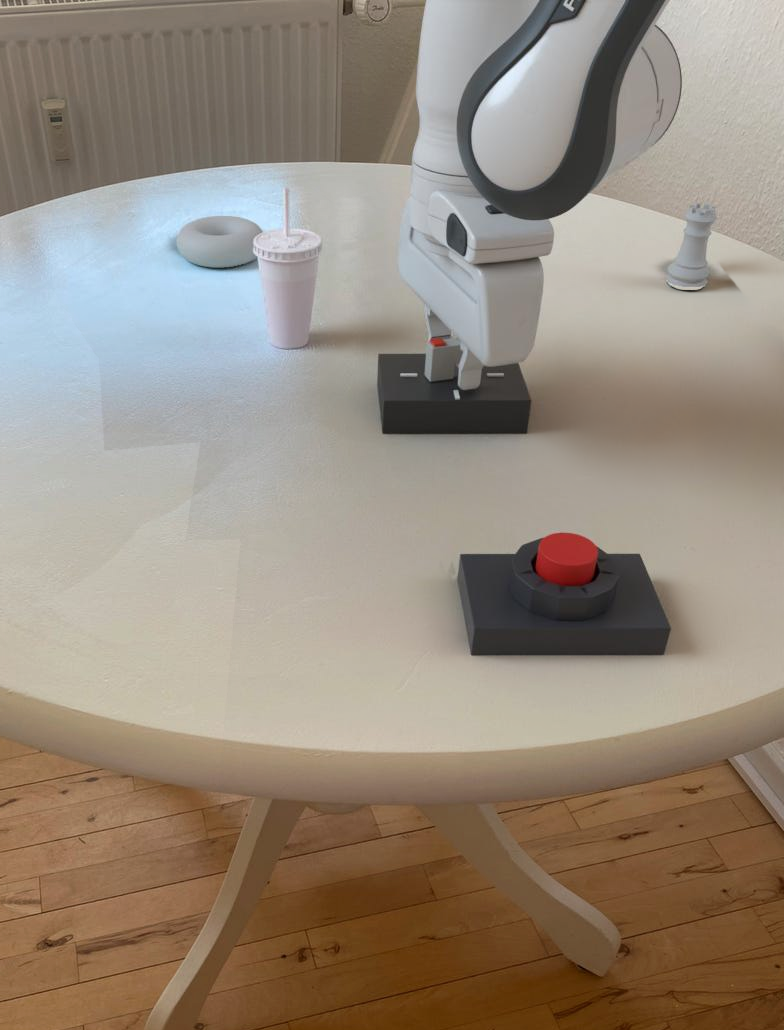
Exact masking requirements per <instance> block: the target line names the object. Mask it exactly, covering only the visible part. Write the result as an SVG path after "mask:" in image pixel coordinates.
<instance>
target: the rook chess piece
mask: <svg viewBox="0 0 784 1030" xmlns="http://www.w3.org/2000/svg"><path fill="white" fill-rule="evenodd" d="M716 210H717V208H716V206H714V205H710V203H704V204H703V207H701V202H696V203H694V204H690V205H689V209H688V210H687V211H686V212H685V213H684V214H683V215H684V219H685V221H686V227H685V228H684V229H683V234H684V235H683V239H682V242H681V245H680V248H679V250H678V253H677V255H676V256H675V258H673V262H671V263H670V264H669V265H668V267H667V270H666V271H667V275H666V276H665V277H666V280H667V281H668V282H669V283H672V284H674V285H678V286H682V287H701V286H704V285H706V284H707V283H708V284H709V280H708V279H707V278H708V277H709V276H710V268H709V266H708V264H709V263H708V260H707V250H708V242H709V237H710V236H711V235H712V230H711V227H712V225H713V224H714V223H715V222H716V221H717V220H718V215H717V214H716ZM707 280H708V281H707ZM708 284H707V285H708ZM707 285H706V286H707Z"/></svg>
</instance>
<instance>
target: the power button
mask: <svg viewBox="0 0 784 1030" xmlns="http://www.w3.org/2000/svg"><path fill="white" fill-rule="evenodd" d="M542 538H543V537H542ZM596 546H597V545H596V544H595V542H593V541H592V540H590V539H589V538H588V537H586V536H583V535H581V534H577V533H573V532H554V533H551V534H548V535H546V536H545V537H544V538H543V539H542V540H541V542H540V544H539V549H538V555H537V561H536V572H537V574H538V576H540V577H541V578H542V579H543V580H545V581H548V582H551V583H554V584H557V585H560V586H583V585H585V584H588V583H589V582H590V581H591V580H592V578H593V576H594V571H595V566H596V561H597V557H598V549H597V547H598V546H597V547H596Z"/></svg>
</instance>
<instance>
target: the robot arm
mask: <svg viewBox="0 0 784 1030" xmlns="http://www.w3.org/2000/svg"><path fill="white" fill-rule="evenodd" d="M670 1H671V0H425V5H424V9H423V16H422V22H421V29H420V36H419V47H418V56H417V66H416V81H415V99H416V103H417V104H416V105H417V110H418V116H419V121H418V122H419V123H418V133H417V137H416V140H415V143H414V146H413V150H412V156H411V172H410V190H409V191H410V192H409V196H408V197H407V198H406V200H405V202H404V205H403V209H402V215H401V222H400V230H399V239H398V251H397V269H398V274H399V278H400V279H401V281H403V282H404V284H405V285H407V287H408V288H409V289H410V290H411V291H412V292H413V293H414V294H415V295H416V296H417V298H419V299H420V301H422V302H423V303H424V304H423V313H424V318H425V324H426V331H427V334H428V338H427V339H428V341H427V342H429V341H430V339H436V338H442V340H445V339H453V338H454V337H453V336H452V334H453V335H454V336H455V338H458V339H459V340H460V341H461V347H460V348H461V350H462V351H463V354H462V357H461V360H460V363H455V367H454V373H455V374H454V378H453V379H454V381H455V382H456V384H457V385H458V386H459V387H460V388H461V389H462V390H469V389H475V388H477V387H478V386H479V385H480V381H481V372H482V368H483V367H484V365H485V366H487V367H493V366H502V365H509V364H515V363H518V364H520V363H523V362H525V360H526V359H527V358H528V357H529V355H530V354H531V353H532V351H533V348H534V345H535V343H536V336H537V332H538V326H539V321H540V314H541V307H542V300H543V293H544V283H545V282H544V281H545V276H544V267H543V263H542V260H541V258H542V257H547V256H550V255H551V253H552V250H553V247H554V241H555V230H554V227H553V223H552V222H551V220H550V219H553V218H556V217H559V216H561V215H564V214H566V213H567V212H569V211H570V210H572V209H573V208H574V207H576V206H577V205H578V204H579V203H580V202H581V201H583V200H584V198H585V197H586V198H587V196H588V195H589V194H590V193H592V191H593V190H594V189H595V188H596V187H598V186H599V185H600V184H602V183H603V182H605V181H606V180H609V178H611V177H612V176H614V175H615V174H617V173H619V172H620V171H622V170H623V169H625V167H626V166H628V165H629V164H631V163H632V162H633V161H635V160H636V159H638V158H639V157H640V156H642V155H643V154H645V153H646V152H647V151H648V150H650V149H651V147H653V146H654V145H656V144H657V143H658V142H659V141H660V140H661V139H662V137H663V136H664V135H665V134H666V132H667V131H668V130H669V128H670V127H671V124H672V123H673V121H674V119H675V117H676V114H677V111H678V109H679V105H680V101H681V96H682V87H683V77H682V69H681V68H682V67H681V63H680V59H679V56H678V53H677V51H676V48H675V46H674V43H673V42H672V41H671V39H670V38H669V37H668V35H667V34H666V33H665V32H664V30H663V29H661V28H660V27H659V26H658V25H657V22H658V21H659V20H660V17H661V16H662V14H663V12H664V11H665V9H666V8H667V6H668V4H669V3H670Z"/></svg>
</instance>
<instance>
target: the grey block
mask: <svg viewBox="0 0 784 1030" xmlns="http://www.w3.org/2000/svg"><path fill="white" fill-rule="evenodd" d="M460 347H461V341H460V340H459V339H458V338H457V337H453V339H445V340H442V338H436V339H430V341H429V342H428V341H427V342H426V348H425V354H426V361H425V376H426V377H427V379H428V380H429V381H430V382H434V381H441V380H449V379H453V378H454V374H455V373H454V367H455V363H460V360H461V357H462V354H463V351H462V350H461V348H460Z"/></svg>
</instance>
